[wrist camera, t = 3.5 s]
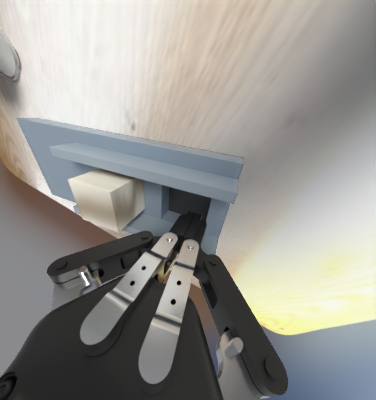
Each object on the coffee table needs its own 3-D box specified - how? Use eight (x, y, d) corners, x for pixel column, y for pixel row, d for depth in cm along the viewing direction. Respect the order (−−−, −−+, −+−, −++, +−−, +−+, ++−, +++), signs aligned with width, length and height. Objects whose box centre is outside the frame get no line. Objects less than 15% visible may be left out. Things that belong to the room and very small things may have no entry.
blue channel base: (38, 118, 21) (-18, 117, 16) (243, 157, 14) (243, 174, 10) (66, 188, 27) (31, 202, 23) (216, 237, 21) (209, 270, 16)
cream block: (108, 165, 17) (67, 179, 13) (142, 174, 16) (109, 192, 12) (115, 198, 20) (82, 219, 16) (145, 208, 19) (118, 232, 15)
